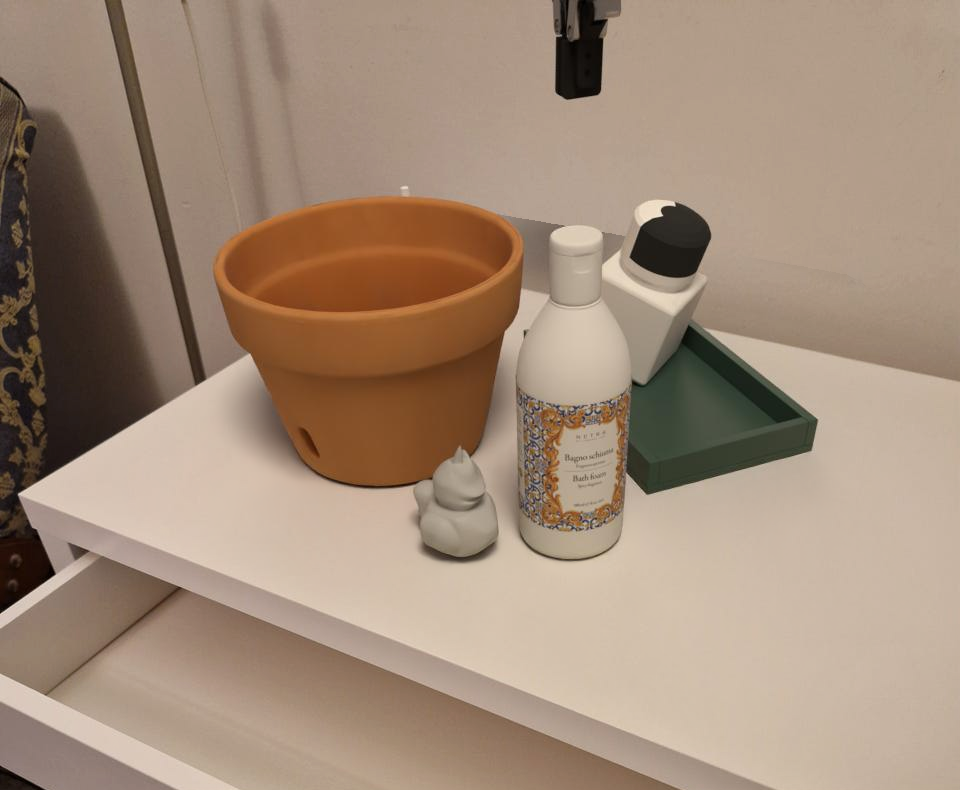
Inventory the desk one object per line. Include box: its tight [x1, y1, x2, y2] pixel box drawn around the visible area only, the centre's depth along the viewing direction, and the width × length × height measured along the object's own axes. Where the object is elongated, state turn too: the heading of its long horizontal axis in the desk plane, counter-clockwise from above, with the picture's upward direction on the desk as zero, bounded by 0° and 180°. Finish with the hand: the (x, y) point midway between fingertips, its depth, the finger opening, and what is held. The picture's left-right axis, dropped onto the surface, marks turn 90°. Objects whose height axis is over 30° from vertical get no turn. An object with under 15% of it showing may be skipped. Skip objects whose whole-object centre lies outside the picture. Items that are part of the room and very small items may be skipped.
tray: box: [523, 318, 819, 495], centre depth 79 cm, size 14×23×3 cm, turn 21°
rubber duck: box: [412, 446, 500, 558], centre depth 65 cm, size 5×7×8 cm
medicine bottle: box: [601, 199, 712, 386], centre depth 79 cm, size 7×7×12 cm
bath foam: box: [515, 224, 632, 560], centre depth 61 cm, size 7×7×20 cm
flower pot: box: [212, 195, 525, 487], centre depth 73 cm, size 21×21×15 cm
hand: (578, 94), depth 78 cm, fingers closed
